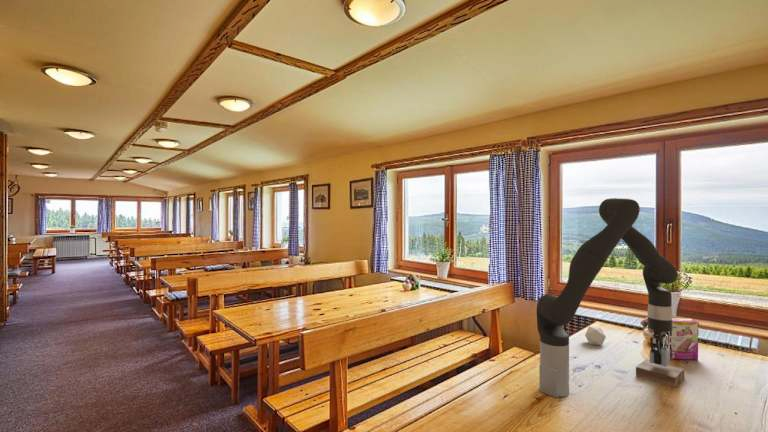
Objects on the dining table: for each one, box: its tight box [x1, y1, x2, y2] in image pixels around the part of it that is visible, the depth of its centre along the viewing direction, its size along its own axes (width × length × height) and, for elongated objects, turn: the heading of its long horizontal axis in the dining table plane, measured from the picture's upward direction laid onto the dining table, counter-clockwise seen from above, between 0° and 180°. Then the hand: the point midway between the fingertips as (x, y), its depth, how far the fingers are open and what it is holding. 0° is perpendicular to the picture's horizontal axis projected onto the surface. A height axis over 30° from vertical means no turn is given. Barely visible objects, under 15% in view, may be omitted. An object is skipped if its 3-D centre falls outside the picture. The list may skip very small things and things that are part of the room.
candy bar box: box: [667, 317, 700, 361], centre depth 156 cm, size 11×5×16 cm, turn 84°
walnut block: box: [635, 358, 685, 389], centre depth 138 cm, size 12×12×4 cm
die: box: [584, 326, 607, 347], centre depth 173 cm, size 8×9×10 cm
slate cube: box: [649, 348, 671, 367], centre depth 138 cm, size 5×5×5 cm
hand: (659, 361), depth 138 cm, fingers closed on slate cube, 5 cm apart
